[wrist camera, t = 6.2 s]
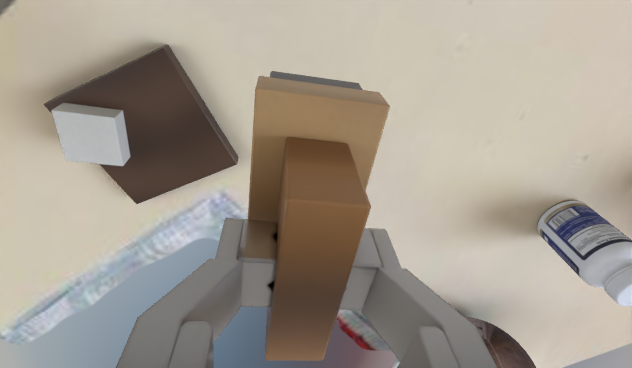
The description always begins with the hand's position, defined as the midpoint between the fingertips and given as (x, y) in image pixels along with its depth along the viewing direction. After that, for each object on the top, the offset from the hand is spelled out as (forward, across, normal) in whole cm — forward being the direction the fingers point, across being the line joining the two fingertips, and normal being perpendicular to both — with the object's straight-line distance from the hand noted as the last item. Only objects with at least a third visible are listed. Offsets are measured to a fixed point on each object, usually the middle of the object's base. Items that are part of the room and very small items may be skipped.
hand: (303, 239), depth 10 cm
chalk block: (+17, +14, +6) cm, 23 cm away
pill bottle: (+18, -31, +11) cm, 38 cm away
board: (+18, +11, +6) cm, 22 cm away
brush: (+4, 0, 0) cm, 4 cm away
